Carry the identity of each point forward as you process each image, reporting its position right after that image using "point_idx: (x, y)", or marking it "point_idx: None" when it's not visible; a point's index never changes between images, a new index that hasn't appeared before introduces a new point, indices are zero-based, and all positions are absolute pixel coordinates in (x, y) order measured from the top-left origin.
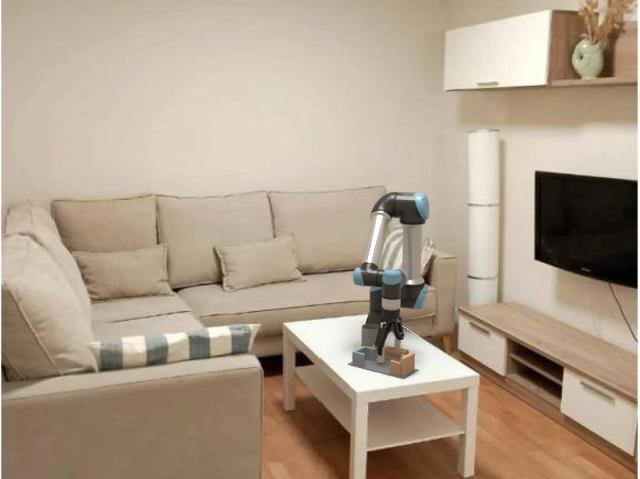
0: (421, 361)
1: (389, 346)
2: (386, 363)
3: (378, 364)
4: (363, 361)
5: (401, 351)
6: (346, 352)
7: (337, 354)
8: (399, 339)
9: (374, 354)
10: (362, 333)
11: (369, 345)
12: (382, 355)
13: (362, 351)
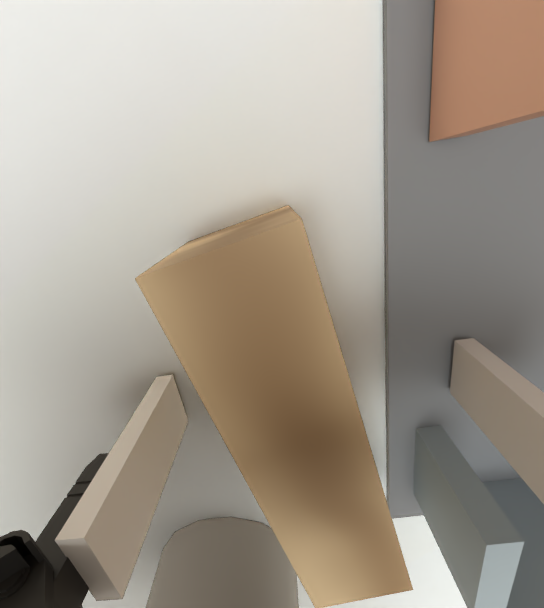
0: (83, 104)
1: (265, 507)
2: (437, 323)
3: (504, 354)
4: None
5: (317, 296)
6: (389, 595)
7: (452, 601)
8: (63, 567)
9: (475, 477)
10: None
11: (289, 601)
12: (537, 399)
13: (532, 565)
